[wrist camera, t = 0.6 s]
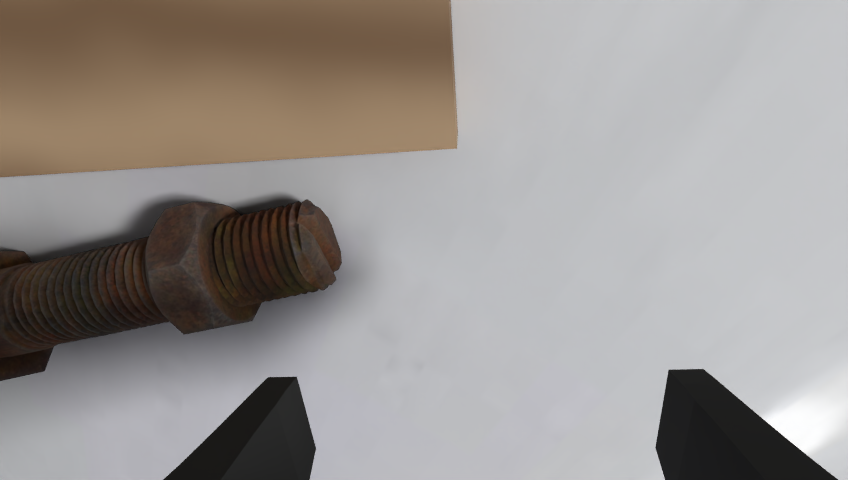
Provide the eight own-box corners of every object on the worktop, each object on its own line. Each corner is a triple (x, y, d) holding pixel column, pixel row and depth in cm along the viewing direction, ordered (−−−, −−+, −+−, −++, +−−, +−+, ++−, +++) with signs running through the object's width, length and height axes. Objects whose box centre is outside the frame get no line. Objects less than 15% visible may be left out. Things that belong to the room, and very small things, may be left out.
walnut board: (457, 132, 17) (456, 149, 15) (-153, 172, 19) (-220, 191, 17) (441, -162, 13) (437, -189, 11) (-304, -65, 16) (-409, -74, 14)
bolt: (353, 218, 21) (50, 286, 23) (300, 132, 16) (-62, 225, 19) (354, 347, 17) (-1, 412, 19) (288, 280, 13) (-152, 372, 15)
